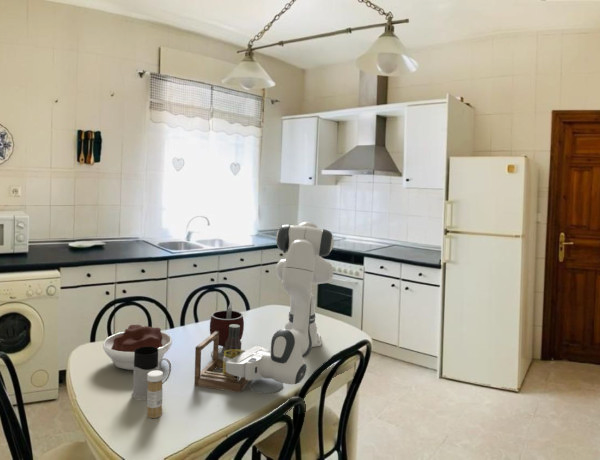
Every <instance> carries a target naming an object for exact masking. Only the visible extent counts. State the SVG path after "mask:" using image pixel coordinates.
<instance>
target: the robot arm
mask: <svg viewBox="0 0 600 460" xmlns="http://www.w3.org/2000/svg"><path fill="white" fill-rule="evenodd" d="M334 241H335V240H334V237H333V233H332V232H331V231H330V230H327V229H324V228H323V229H321V228H318V226H317V225H316V224H315V223H314V222H312V221H303V222H301V223H299V224H298V225H297V224H296V225H293V224H292V225H291V224H282V225H281V226H280V227H279V229H278V230H277V232H276V235H275V242H276V246H277V248H278V249H279V250H280V251H282V252H283V254H286V256H285V258H281V259H280V260H278V262H277V264H276V266H275V275H276V277H277V279H278V280H279V281H281V282H282V287H283V289H284V291H285V292H286V293H287V294H288V295H289V301H290V302H289V305H290V308H289V311H288V321H287V322H286V323H285V325H284V328H282V329H279V330H276V331H275V333H274V334H273V335H272V337H271V342H270V349H268V348H265V347H263V346H260V345H254V346H253V347H250V348H249V349H241V354H240V355H238V356H236V357H234V358H231V359H230V358H229V356H224V357H223V362H226V365H225V371H226V372H227V373H228V374H231V375H234V376H237V377H238V378H241V377H245V379H246V380H249V381H251V380H253V379H256V378H262V377H263V378H267V379H270V378H271V379H274V380H275V381H277V382H281V383H283V384H286V385H298V384H299V383H301V382H302V380H303V379H304V378H305V376H306V373H307V364H306V362H305V361H304V358H306V357H307V356H308V355H309V354H310V353H311V350H312V348H315V347H321V346H322V341H321V333H320V332H318V326H317V323H316V312H315V307H316V298H315V297H316V296H315V295H314V294H313V293H312V291H313V290H312V288H313V284H314V285H320V284H328V283H330V281H331V280H332V279H333V277H334V268H333V265H332V264H331V262H330V261H328V260H326V259H324V258H323V257H327V256H329V255H330V253H331V251H332V250H333V248H334V243H335V242H334Z"/></svg>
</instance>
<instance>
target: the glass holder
mask: <svg viewBox="0 0 600 460" xmlns="http://www.w3.org/2000/svg"><path fill="white" fill-rule="evenodd" d="M164 360H165V361H166V362H167V363H168V373H167V377H166V379H164V381H162V385H163V384H165V383H166V382H167V381H168V379H169V378H170V376H171V371H172V363H171V361H170V360H169V359H168V358H166V357H163V358H162V359H161V360H160V362H159V363H158V349H157V348H155V347H141V348H138V349H136V350H135V351H134V370H133V376H132V377H133V380H132V381H133V382H132V383H133V386H132V387H133V388H132V392H131V398H133V399H134V400H139V401H146V400H147V389H148V380H147V374H148V373H149V372H151V371H155V370H158V371H160V370H161V365H162V361H164Z"/></svg>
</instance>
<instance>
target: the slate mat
mask: <svg viewBox="0 0 600 460" xmlns="http://www.w3.org/2000/svg"><path fill="white" fill-rule="evenodd" d="M248 384H249V388H250V389H251V390H252V391H254V392H256V393H261V394H274V393H278V392H280V391H281V390H282V389H283V387H284V383H281V382H277V381H275V380H274V379H271V378H270V379H267V378H263V377H262V378H256V379H253V380H249V383H248Z"/></svg>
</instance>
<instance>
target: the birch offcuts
mask: <svg viewBox="0 0 600 460" xmlns="http://www.w3.org/2000/svg"><path fill="white" fill-rule="evenodd" d="M202 377H209V378H216V379H222V380H229V381H236V382H238V381H239V377H238V378H235V376H234V375H230V374H223V373H222V372H216V371H213V372H210V371H206V373H203V376H202Z"/></svg>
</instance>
